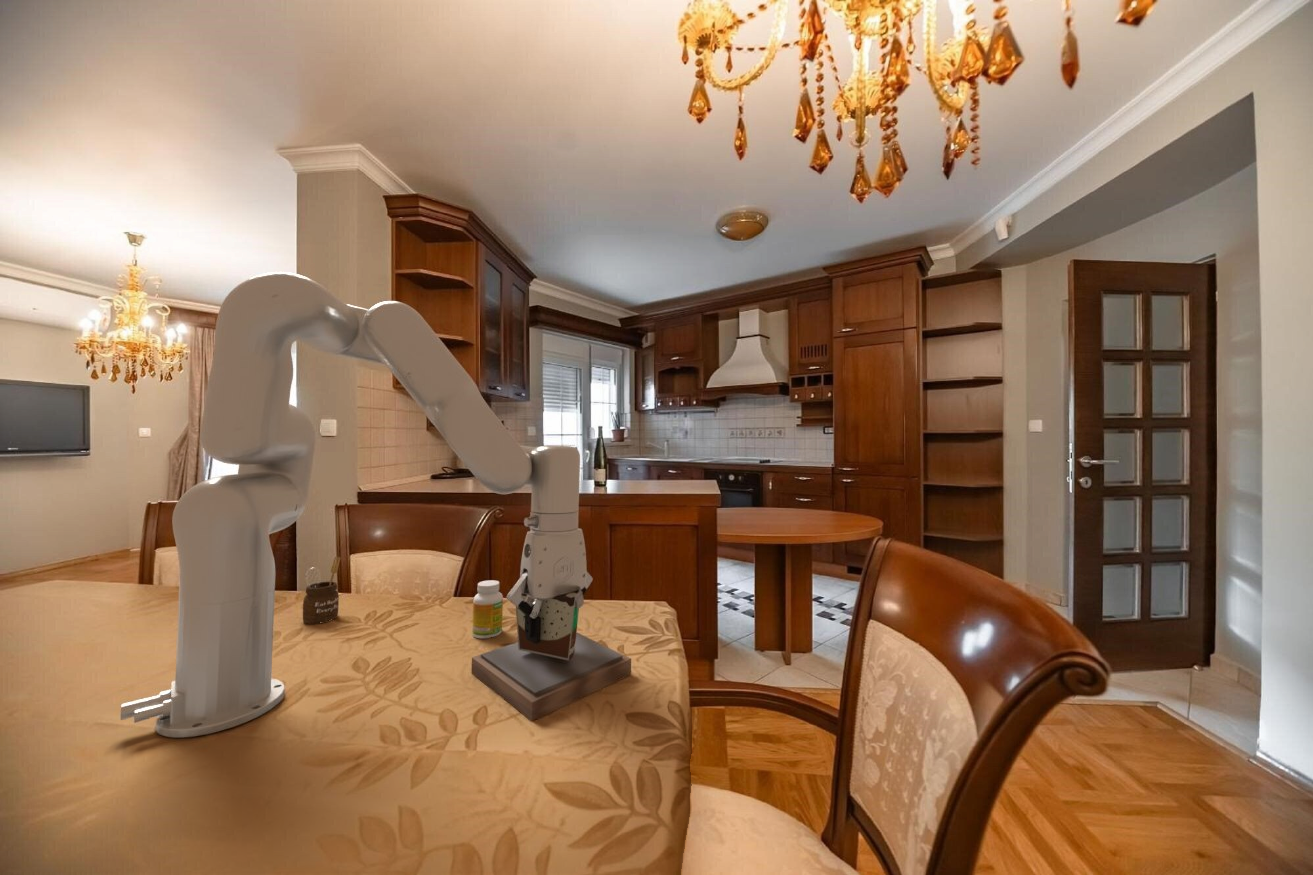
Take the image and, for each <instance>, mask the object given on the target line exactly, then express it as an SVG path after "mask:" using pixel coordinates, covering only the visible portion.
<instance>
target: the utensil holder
mask: <svg viewBox="0 0 1313 875" xmlns="http://www.w3.org/2000/svg"><path fill="white" fill-rule="evenodd" d="M340 561H341V557H339V556H334V558H333V562H332V566H331V567H330V573H331V577H330V579H329V580H330V581H317V582H313V580H312V582H311V579H310V577H308V578H309V582H310V584H309V582H308V578H306V579H305V580H306V582H307V586H306V589H305V595H304V598H303V601H302V620H303V623H304V622H305V624H307V623H308V624H307V625H317V624H316V623H318V624H321V623H320V622H324V623H326V621H328V622H330V621H329V620H331V619H333V618H335V617H336V616H337V617H338V615H339V604H340V602H339V600H340V598H339V592H338V591H337V589H338V584H337V582H335V581H333V580H334V577H335V574H336V573H338V570H339V565H340ZM310 570H313V573H316V575H320V574H321V572H320V571H319V569H318V568H317V567H316V566H313V567H310V568H308V569H307V571H306V574H307V575H311V577H313V575H312V573H310V572H309V571H310ZM316 570H317V572H318V574H317V572H315V571H316ZM309 573H310V574H309ZM316 578H317V580H321V579H322V578H321V577H319V576H315V575H314V579H316ZM337 617H336V618H337ZM336 618H335V619H336ZM333 620H334V619H333ZM331 621H332V620H331Z"/></svg>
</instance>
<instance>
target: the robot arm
mask: <svg viewBox="0 0 1313 875" xmlns="http://www.w3.org/2000/svg"><path fill="white" fill-rule="evenodd" d="M217 314H218V315H217V318H216V323H215V332H214V333H215V334H214V345H213V354H212V361H211V367H210V371H209V375H208V381H207V382H208V383H207V386H206V387H207V388H206V394H205V400H204V407H203V412H202V418H201V419H202V420H201V425H200V433H199V435H200V436H199V438H200V444H201V447H202V448H203V450H204V452H205V453H206V454H207V455H208V456H209V457H210V458H212V459H214V460H216V461H218V462H221V463H224V464H228V465H237V466H238V470H237V471H238V472H237V474H225V475H220V476H215V477H212V478H208V479H205V480H204V481H201V482H199V483H197V484H195V485H193V486H192V487H190V488H189V489H188V490H187V491H185V492H184V493H183V494H182V495H181V497H180V498H179V499H178V501H177V503H176V504H175V506H174V509H173V512H172V518H171V520H172V521H171V523H172V532H173V537H174V540H175V541H174V542H175V546H176V551H177V557H178V568H179V569H178V572H179V574H178V575H179V578H178V579H179V580H178V581H179V584H178V586H179V587H178V614H177V615H178V616H177V634H176V635H177V636H176V637H177V638H176V660H175V680H172V681H171V687H170V688H167V689H165V690H161V691H159V694H157V695H152V696H148V697H144V698H143V697H142V698H137V699H134V700H130V701H126V702H122V703H121V706H120V708H121V709H120V721H123V720H127V719H130V718H134V720H133V722H134V723H139V722H142V721H145V720H149V719H150V718H151V719H152V718H155V717H156V718H155V719H156V720H155V731H156V733H158V735H161V736H163V737H168V738H173V739H174V738H175V739H176V738H192V737H198V736H205V735H210V734H214V733H218V732H222V731H225V730H228V729H232V728H234V727H237V726H240V725H243V724H245V723H248V722H249V721H251V720H255V719H257V718H258V717H261V716H262V715H264V714H266V713H268V712H269V711H270V710H272V709H273V708H274V707H276V706H277V705H278V704H279V703H280V702H282V700H283V699H284V697H285V694H286V685H285V683H284V682H283V681H281V680H279V679H276V678H272V672H273V671H272V670H273V669H272V668H273V642H274V622H275V621H274V619H275V617H274V616H275V598H276V597H275V592H276V590H275V589H276V563H275V557H274V553H273V549H272V545H271V541H270V535H271V534H274V533H277V532H279V531H282V530H285V529H286V528H288V527H290V526H291V525H293V524H294V523H295V522H297V521H298V519H299V518H300V517H301V516H302V514H303V512H304V510H305V508H306V506H307V501H308V496H309V493H310V492H309V491H310V484H311V478H312V470H313V462H314V456H315V450H316V431H315V427H314V424H313V422H312V420H311V418H310V417H309V416H308V415H307V413H305V412H304V410H302V409H300V408H299V407H297V406H295V405H293V404H291V403H290V400H291V399H290V398H291V391H292V390H291V389H292V384H293V380H294V364H293V363H294V362H293V357H292V356H293V355H292V345H293V343H294V342H296V341H297V342H299V343H301V344H304V345H306V346H308V347H310V348H312V349H315V350H317V351H319V352H324V353H327V354H329V355H335V356H340V357H345V358H349V359H356V360H361V361H367V362H372V363H375V364H382V365H385V367H386V368H387V369H388V370H389V371H390V372H391V373H392V375H393V376H394V377H395V378H396V379H397V381H398V382H399V383H400V385H401V386H402V387H403V388H404V389H405V390H406V391H407V393H408V394H409V396H411V398H412V399H413V400H414V402H416V404H417V405H418V407H419V408H420V410H422V411H423V412H424V414H425V416H426V417H427V419H428V420H429V422H430V423H431V424H432V425H433V426H434V427H435V429H436V430H437V431H438V432H439V433H440V435H441V436H442V437H443V439H444V440H445V441H446V443H447V444H448V445H449V448H451V450H453V452H454V453H455V454H456V456H458V458H459V459H460V461H462V463H463V464H464V465H465V466H466V467H467V468H468V470H469V471H470V472H471V473H472V475H473V476H474V477H475V478H476V479H477V480H478V482H479V483H480V484H481V485H482V486H484V487H485V489H487V490H488V491H491V492H492V493H495V494H499V495H508V494H513V493H516V492H518V491H519V490H522V489H523V488H528V487H531V500H530V501H531V502H530V511H529V512H530V513H529V514H530V515H529V517H525V518H524V520H523V524H524V526H525V527H529V529H530V530H529V531H526V532H527V533H526V535H525V538H524V543H523V549H522V553H521V554H522V555H521V560H520V572H519V573H520V574H519V579H518V580H517V581H516V583H515V584H514V585H513V587H512V588H511V589H510V591H509V592H508V593H507V594H506V599H507V600H508V601H509V602H510V603H511V604H512V605H513V606H515V608H516V607H517V608H518V609H519V610H520V611H522V613H523V614H525V636H526V639H528V640H529V641H531V642H533V643H535V644H537V643H539V642H540V634H541V618H540V617H539V616H538V612H539V610H540V607H541V604H542V601H543V600H546V599H550V598H554V597H556V596H560V595H565V594H569V593H573V592H576V591H578V588H579V586H580V588H581V591H582V594H583V596H584V595H585V593H586V591H587V589H588V588H589V587H590V585H591V583H592V582H593V577H592V576H591V574H590V573H589V571H587V555H586V554H587V551H586V544H585V538H584V537H585V536H584V533H583V529H582V528H579V510H580V508H579V507H580V506H579V503H580V476H581V473H580V472H581V454H580V451H579V449H577V448H576V447H574V446H569V445H568V446H567V445H540V446H529V445H522V444H520V443H519V442H518V441H517V440H516V438H514V436H513V435H512V434H511V432H510V431H509V429H508V428H506V426H505V425H504V424H503V423H502V421H501V420H500V419H499V418H498V416H496V414H495V412H494V411H493V410H492V408H491V407H490V406H489V405H488V403H487V402H486V400H485V399H484V398H483V396H482V394H481V392H480V390H479V387H478V386H477V384H476V382H475V381H474V379H473V378H472V376H470V374H469V373H468V372H467V370H466V369H465V368H464V367H463V366H462V364H461V363H460V361H458V360H457V358H455V355H453V353H452V352H451V351H450V350H449V349H448V347H447V346H446V344H445V343H444V342H443V341H442V340H441V338H440V337H439V336H438V335H437V334H436V332H435V331H434V330H433V328H432V327H431V326H430V324H428V322H427V321H426V320H425V319H424V317H423V316H422V315H421V313H419V312H418V311H417V310H416V309H415V308H413V307H412V306H410V305H409V304H407V303H404V302H400V301H397V300H387V301H382V302H378V303H376V304H375V305H373V306H371V307H370V308H369V309H367V308H364V307H360V306H356V305H351V304H347V303H346V302H344V301H342V300H341V299H340V298H339V297H338V296H336V295H335V294H334V293H332V291H330V290H329V289H327V288H326V287H325V286H323V285H322V284H320V283H318V282H317V281H316V280H313V279H311V278H308V277H307V276H303V275H300V274H298V273H292V272H286V271H285V272H284V271H283V272H282V271H279V272H277V271H275V272H274V271H273V272H267V273H266V272H265V273H263V274H259V275H256V276H253V277H251V278H248V279H246V280H245V281H243V282H241V283H239V284H238V285H236V286H235V287H234V288H233V289H232V290H231V291H230V292H229V293H228V294H227V295H226V297H225V298H224V300H223V302H222V303H221V305H220V308H219V310H218V313H217ZM522 593H523V594H527V596H526V599H525V601H524V600H523V599H522V598H521V594H522ZM533 601H534V602H533Z"/></svg>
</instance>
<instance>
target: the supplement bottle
mask: <svg viewBox="0 0 1313 875" xmlns="http://www.w3.org/2000/svg"><path fill="white" fill-rule="evenodd" d="M499 590H500V581H499V580H493V579H492V580H491V579H490V580H483V581H479V582H478V583H477V590H476V591H477V594H475V596H474V597H473V602H472V604H473V605H472V607H473V608H472V630H471V631H472V636H473V637H475V638H476V639H482V640H483V639H491V637H492V638H495V637H498V636H499V635H500V634H502V632H503V614H504V613H503V609H504V608H503V607H504V605H503V604H504V602H503V601H504V596H503V593H501V592H500V591H499Z"/></svg>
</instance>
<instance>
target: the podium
mask: <svg viewBox="0 0 1313 875" xmlns="http://www.w3.org/2000/svg"><path fill="white" fill-rule="evenodd" d="M470 671H471V672H470V673H471V674H472V675H473V676H474V677H475V678H477V679H478V680H479V681H481V682H482V683H483V684H484V685H486V686H487V687H488V688H489V689H491V691H493V692H494V693H495V694H497V695H498V696H499V697H500V698H502V699H503V700H504V701H506V702H507V703H508V704H509V705H511V706H512V707H513V708H515V710H517V711H518V712H519V713H521V714H522V715H523V716H524V717H526V718H527V719H528V720H530V721H531V722H533V721H536V720H537V719H540V718H542V717H544V716H546V715H549V714H550V713H553V712H554V711H557V710H558V709H560V708H563V707H566V706H567V705H570V704H572V703H573V702H576V701H578V700H581V699H582V698H584V697H586V696H587V697H588V695H591V694H593V693H595V692H597V691H599V690H602V689H604V688H605V686H606V687H607V685H608V686H610V685H612V684H614V683H616V682H618V681H620V680H622V679H621V678H623V677H625V676H627V675H629V674H631V675H632V658H630V657H628V656H626V655H625V654H622V653H620V652H619V651H616V650H614V649H611V648H610V647H608V646H605V645H604V644H602V643H600V642H598V641H596V640H593V639H591V638H589V637H588V636H585V635H583V634H581V633H579V632H576V641H575V651H574V655H573V657H572V658H571V659H570V660H565V659H560V658H555V657H550V656H545V655H541V654H536V653H531V652H526V651H521V650H518V641H517V642H515V643H511V644H508V645H504V646H502V647H499V648H495V649H493V650H490V651H486V652H484V653H481V654H478V655H475V656H472V657H471V669H470ZM629 676H630V675H629ZM627 677H628V676H627ZM625 678H626V677H625ZM619 679H620V680H619ZM623 679H624V678H623ZM615 681H616V682H615ZM613 682H614V683H613ZM611 683H612V684H611ZM592 692H593V693H592Z"/></svg>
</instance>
